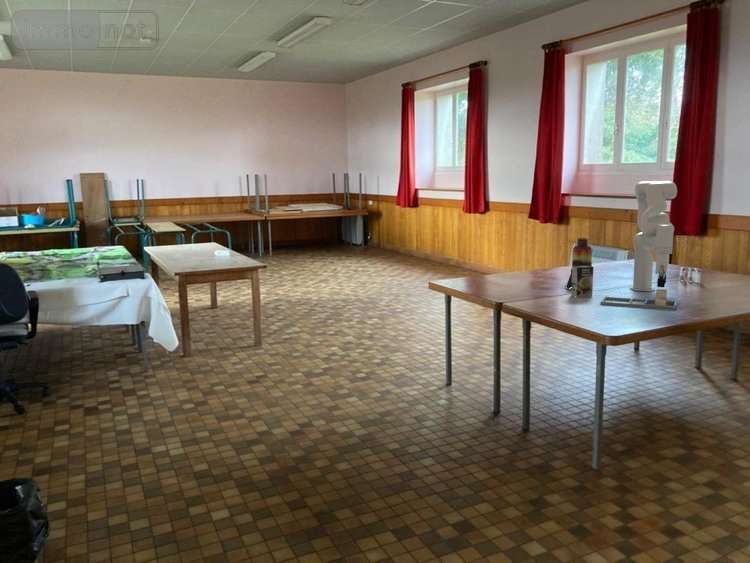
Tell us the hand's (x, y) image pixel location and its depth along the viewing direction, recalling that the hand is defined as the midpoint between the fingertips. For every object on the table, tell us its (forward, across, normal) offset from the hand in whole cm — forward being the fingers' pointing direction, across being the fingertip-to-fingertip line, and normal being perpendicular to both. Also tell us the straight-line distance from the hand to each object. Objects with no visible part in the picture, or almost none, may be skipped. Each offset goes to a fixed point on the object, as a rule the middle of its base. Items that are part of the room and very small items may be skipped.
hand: (661, 285), depth 296 cm
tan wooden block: (+10, +1, 0) cm, 10 cm away
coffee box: (+11, -11, -39) cm, 42 cm away
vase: (+12, -55, -47) cm, 73 cm away
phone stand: (+12, -31, -46) cm, 57 cm away
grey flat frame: (+10, +1, -10) cm, 14 cm away
